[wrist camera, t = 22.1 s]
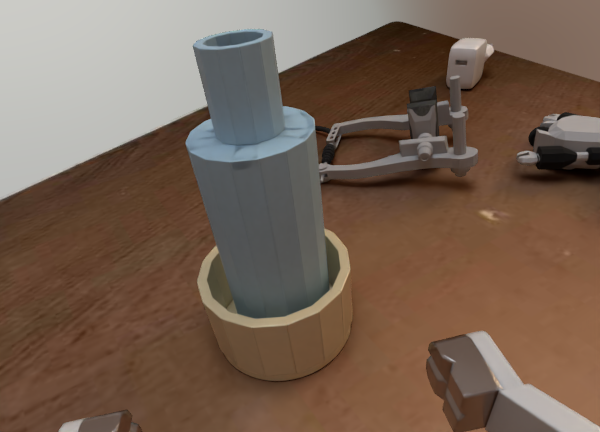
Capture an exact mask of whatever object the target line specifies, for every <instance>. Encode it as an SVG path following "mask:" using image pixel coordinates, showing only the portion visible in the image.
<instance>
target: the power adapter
mask: <svg viewBox="0 0 600 432" xmlns="http://www.w3.org/2000/svg"><path fill="white" fill-rule="evenodd" d="M493 52H494V49H493V44H489V45H488V44H487V41H486V40H485V39H482V38H463V39H461V40H459V41H458V42H457V43H455V44H454V45H453V46H452V47H451V50H450V54H449V62H448V70H447V81H446V84H447V86H448V87H450V79H449V78H450V77H452V76H460V89H471V88H473V87H474V86H475V85H476V83H477V82H478V81H479V80H480V78H481V76H482V72H483V67H484V62H485V61H486V60H487V59H488V58H489V57H490V56H491V54H492V53H493Z"/></svg>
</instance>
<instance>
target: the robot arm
mask: <svg viewBox="0 0 600 432" xmlns="http://www.w3.org/2000/svg"><path fill="white" fill-rule="evenodd" d="M428 351H429V353H430V355H431V356H430V357H429V358H428V359H427V362H426V370H427V375H428V379H429V382H430V384H431V387H432V389H433V391H434V393H435V394H436V395H437V396H439V397H440V398H442V399H443V400H444V403H443V409H442V410H443V412H444V414H445V416H446V418H447V420H448V422H449V424H450V426H451V428H452V430H453V432H466V431H470V430H475V429H480V428H485V427H486V428H485V430H487V431H488V432H600V427H599V426H598V425H596V424H594V423H593V422H591V421H589V420H588V419H586V418H585V417H583V416H581V415H580V414H578V413H576V412H575V411H573V410H571V409H570V408H568V407H567V406H565V405H563V404H562V403H560V402H558V401H557V400H555V399H554V398H552V397H550V396H549V395H547V394H545V393H544V392H542V391H541V390H539V389H537V388H536V387H534V386H532V385H531V384H525V385H524V384H523V382H522V381H521V380H520V378H519V377H518V375H517V374H516V373H515V371H514V370H513V368H512V367H511V365H510V364H509V363H508V361H507V360H506V358H505V357H504V356H503V354H502V353H501V351H500V350H499V348H498V347H497V346H496V344H495V343H494V341H493V340H492V338H491V337H490V336H489V334H488V333H486V332H485V331H478V332H473V333H469V334H463V335H459V336H455V337H451V338H447V339H442V340H438V341H434V342H431V343H430V344H429V348H428ZM131 421H132V415H131V413H130V412H129V411H128V410H122V411H118V412H113V413H109V414H104V415H100V416H95V417H91V418H84V419H80V420H75V421H71V422H67V423H64V424H63V425H62V427H61V428H60V430H59V431H58V432H142V429H141V427H140V426H139V424H136V423H133V422H131Z"/></svg>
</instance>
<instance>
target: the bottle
mask: <svg viewBox="0 0 600 432" xmlns="http://www.w3.org/2000/svg"><path fill="white" fill-rule="evenodd" d="M193 49H194V52H195V57H196V61H197V65H198V69H199V73H200V76H201V80H202V84H203V88H204V92H205V96H206V100H207V104H208V108H209V112H210V116H211V119H209V120H207V121H205V122H203V123H202V124H200V125H199V126H198V127H196V128H195V129H194V130H192V131H191V132H190V134H189V136H188V138H187V140H186V147H187V150H188V153H189V157H190V160H191V163H192V166H193V170H194V173H195V176H196V179H197V183H198V186H199V189H200V193H201V196H202V199H203V202H204V206H205V209H206V212H207V215H208V219H209V222H210V225H211V229H212V232H213V235H214V238H215V242H216V245H217V248H218V251H219V255H220V258H221V261H222V265H223V268H224V271H225V274H226V278H227V281H228V284H229V287H230V291H231V294H232V297H233V301H234V304H235V307H236V310H237V314H240V315H243V316H247V317H251V318H254V319H258V318H271V317H285V316H287V315H290V314H292V313H295V312H297V311H300V310H302V309H305V308H307V307H310V306H312V305H313V304H314V303H316V302H317V301H318V300H319V299H320V298H321V297H322V296H324V295H325V294H326V293H327V292H328V291H329V290H330V288H329V277H328V266H327V254H326V243H325V232H324V221H323V209H322V198H321V187H320V176H319V164H318V153H317V142H316V131H315V121H314V118H313V117H311V116H310V115H309V114H307V113H306V112H305V111H303V110H299V109H295V108H291V107H287V106H282V98H281V91H280V84H279V76H278V69H277V62H276V54H275V48H274V40H273V33H272V32H271V31H267V30H263V29H245V30H237V31H229V32H224V33H219V34H215V35H211V36H208V37H205V38H203V39H200V40H198V41H196V43H195V44H194V45H193Z"/></svg>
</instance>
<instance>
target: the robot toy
mask: <svg viewBox="0 0 600 432" xmlns="http://www.w3.org/2000/svg"><path fill="white" fill-rule="evenodd" d="M529 142H530V144H531V145H532V146H533V152H531V151H523V152H519V153H518V154H517V160H518V163H520V164H521V165H527V166H530V165H533V164H536V166H537V169H569V170H572V169H574V168H585V169H598V168H600V118H595V117H587V116H580V115H576V114H572V113H567V112H565V113H562V114H561V115H560V114H551V115H549V116H546V117H544V119H543V123H541V125H540V127H537V128H535V129H534V130H533V131H531V133H530V135H529Z"/></svg>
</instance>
